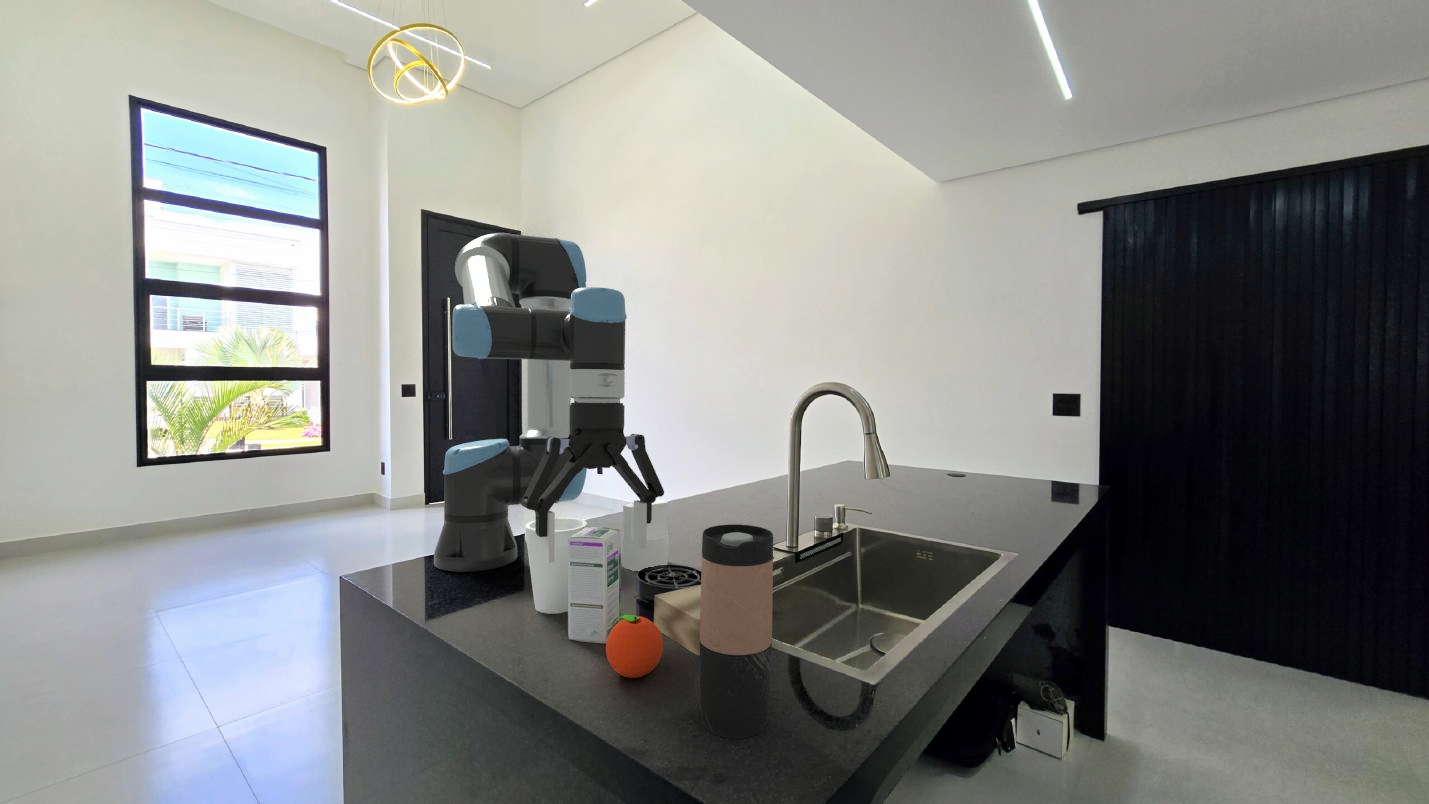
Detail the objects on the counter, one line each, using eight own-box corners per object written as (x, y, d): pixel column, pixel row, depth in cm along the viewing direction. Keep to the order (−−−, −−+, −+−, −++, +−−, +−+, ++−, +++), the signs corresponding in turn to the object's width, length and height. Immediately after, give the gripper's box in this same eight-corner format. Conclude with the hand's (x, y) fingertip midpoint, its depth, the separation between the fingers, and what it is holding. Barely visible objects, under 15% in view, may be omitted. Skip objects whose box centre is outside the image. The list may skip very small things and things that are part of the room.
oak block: (653, 629, 88) (654, 595, 88) (714, 612, 95) (715, 581, 94) (697, 657, 79) (698, 620, 79) (760, 637, 86) (761, 602, 86)
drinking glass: (638, 575, 111) (639, 510, 111) (612, 563, 118) (613, 502, 118) (677, 566, 117) (678, 504, 117) (650, 555, 124) (651, 497, 124)
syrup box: (606, 644, 82) (608, 538, 81) (566, 640, 83) (567, 535, 83) (621, 627, 88) (622, 528, 87) (583, 623, 89) (584, 525, 88)
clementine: (588, 671, 74) (589, 614, 74) (631, 653, 79) (632, 599, 79) (631, 695, 69) (632, 633, 69) (674, 674, 74) (675, 616, 74)
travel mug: (746, 694, 70) (749, 521, 69) (784, 728, 63) (788, 537, 62) (686, 710, 66) (689, 527, 65) (719, 748, 59) (723, 545, 58)
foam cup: (536, 622, 89) (537, 534, 89) (516, 602, 96) (516, 521, 96) (596, 608, 95) (597, 526, 94) (572, 591, 102) (573, 515, 102)
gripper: (514, 401, 74) (513, 574, 74) (688, 401, 88) (686, 546, 88) (497, 400, 80) (497, 559, 81) (662, 400, 94) (661, 536, 95)
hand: (596, 553), depth 85 cm, fingers open, 13 cm apart
